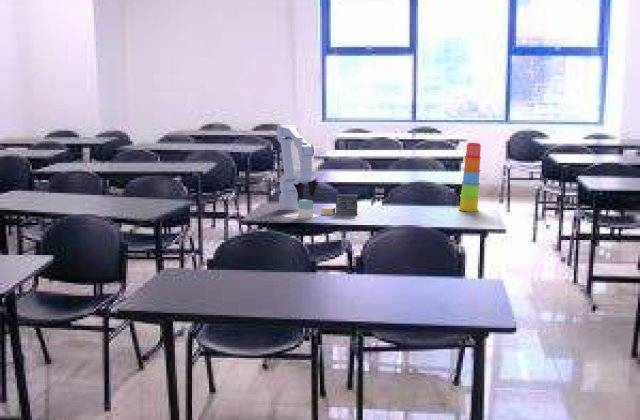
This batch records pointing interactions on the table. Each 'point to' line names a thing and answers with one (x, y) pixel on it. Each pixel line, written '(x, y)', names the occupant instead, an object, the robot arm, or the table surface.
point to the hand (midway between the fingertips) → (306, 196)
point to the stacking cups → (471, 179)
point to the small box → (346, 204)
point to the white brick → (305, 213)
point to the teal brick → (305, 204)
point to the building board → (296, 216)
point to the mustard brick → (328, 211)
